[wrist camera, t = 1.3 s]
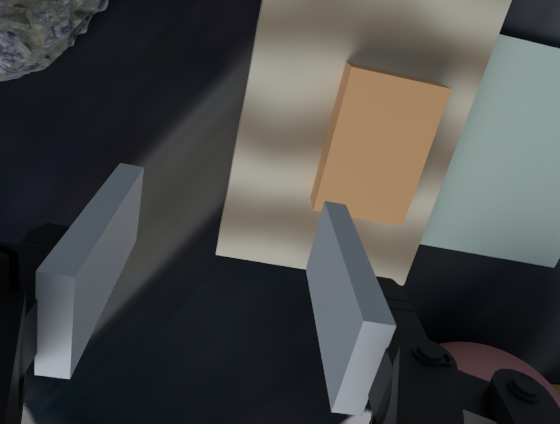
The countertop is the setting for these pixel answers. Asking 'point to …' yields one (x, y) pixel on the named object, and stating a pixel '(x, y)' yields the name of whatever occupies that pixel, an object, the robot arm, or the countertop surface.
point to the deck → (319, 106)
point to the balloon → (491, 363)
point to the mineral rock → (40, 32)
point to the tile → (378, 142)
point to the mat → (506, 162)
